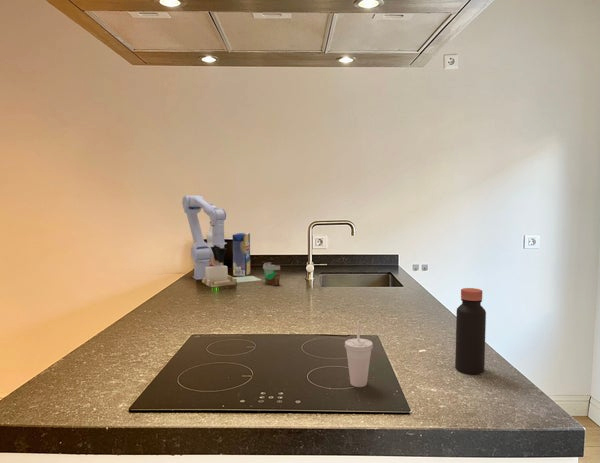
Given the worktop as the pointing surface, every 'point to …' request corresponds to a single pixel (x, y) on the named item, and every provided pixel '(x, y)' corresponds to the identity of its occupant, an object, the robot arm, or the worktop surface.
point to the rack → (210, 283)
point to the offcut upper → (221, 282)
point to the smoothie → (358, 359)
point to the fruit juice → (210, 241)
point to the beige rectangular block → (216, 273)
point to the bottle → (470, 332)
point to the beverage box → (241, 254)
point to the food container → (271, 274)
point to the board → (247, 279)
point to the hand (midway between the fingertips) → (219, 261)
